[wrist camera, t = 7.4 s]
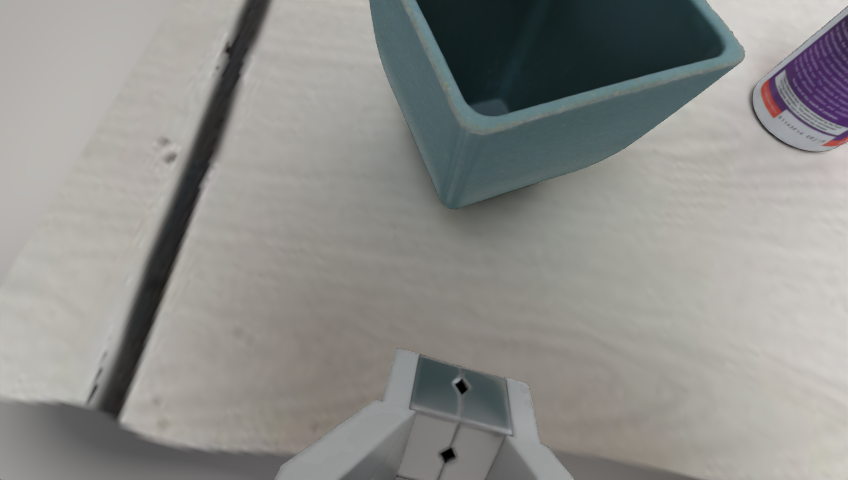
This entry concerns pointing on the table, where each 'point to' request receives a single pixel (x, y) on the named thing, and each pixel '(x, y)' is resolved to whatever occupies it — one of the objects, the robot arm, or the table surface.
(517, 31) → the flower pot
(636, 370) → the table surface
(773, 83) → the pill bottle
